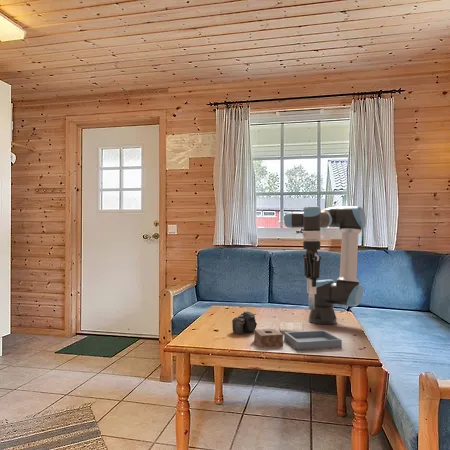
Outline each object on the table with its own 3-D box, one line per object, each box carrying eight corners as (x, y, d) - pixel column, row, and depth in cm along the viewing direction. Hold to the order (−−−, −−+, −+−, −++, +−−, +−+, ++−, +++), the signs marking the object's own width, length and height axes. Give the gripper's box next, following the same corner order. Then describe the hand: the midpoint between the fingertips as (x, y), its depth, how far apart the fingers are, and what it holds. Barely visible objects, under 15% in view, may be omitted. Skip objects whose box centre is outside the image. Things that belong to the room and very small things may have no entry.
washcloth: (302, 327, 196) (302, 321, 196) (304, 336, 178) (304, 330, 178) (280, 326, 198) (280, 320, 198) (279, 335, 180) (279, 328, 180)
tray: (324, 337, 174) (324, 330, 174) (341, 348, 159) (341, 339, 159) (284, 339, 170) (284, 332, 170) (297, 350, 154) (298, 342, 155)
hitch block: (275, 339, 170) (275, 328, 170) (282, 346, 161) (283, 334, 161) (254, 340, 168) (254, 329, 168) (260, 347, 159) (260, 335, 159)
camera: (247, 336, 175) (247, 315, 175) (230, 333, 181) (230, 312, 181) (260, 330, 186) (261, 310, 186) (244, 327, 192) (244, 308, 192)
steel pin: (312, 308, 166) (313, 277, 166) (315, 309, 164) (315, 277, 164) (307, 308, 166) (308, 277, 166) (310, 309, 163) (310, 277, 164)
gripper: (297, 240, 172) (296, 290, 172) (311, 241, 157) (311, 296, 157) (312, 240, 174) (312, 290, 173) (327, 241, 159) (327, 296, 158)
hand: (311, 293), depth 165 cm, fingers closed on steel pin, 2 cm apart
